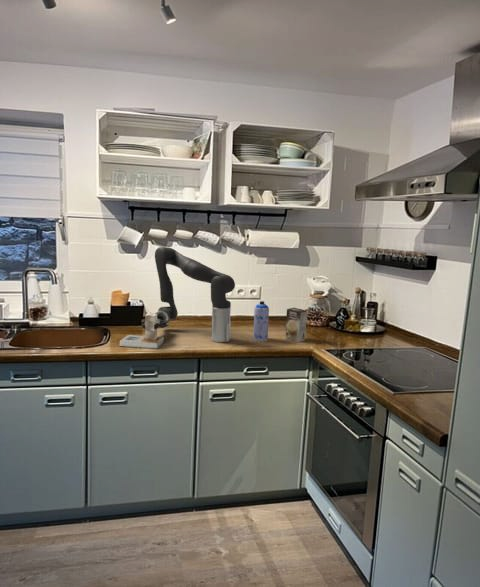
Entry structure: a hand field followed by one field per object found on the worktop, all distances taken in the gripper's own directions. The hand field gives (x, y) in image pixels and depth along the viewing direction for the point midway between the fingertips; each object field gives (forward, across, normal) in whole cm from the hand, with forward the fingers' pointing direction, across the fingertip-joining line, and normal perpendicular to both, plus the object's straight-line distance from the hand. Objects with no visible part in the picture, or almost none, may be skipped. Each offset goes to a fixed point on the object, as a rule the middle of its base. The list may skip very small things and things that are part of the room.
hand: (149, 326), depth 219 cm
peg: (-3, 0, +9) cm, 9 cm away
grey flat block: (-3, -4, +9) cm, 11 cm away
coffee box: (-30, +70, +10) cm, 76 cm away
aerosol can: (-26, +52, +10) cm, 58 cm away
